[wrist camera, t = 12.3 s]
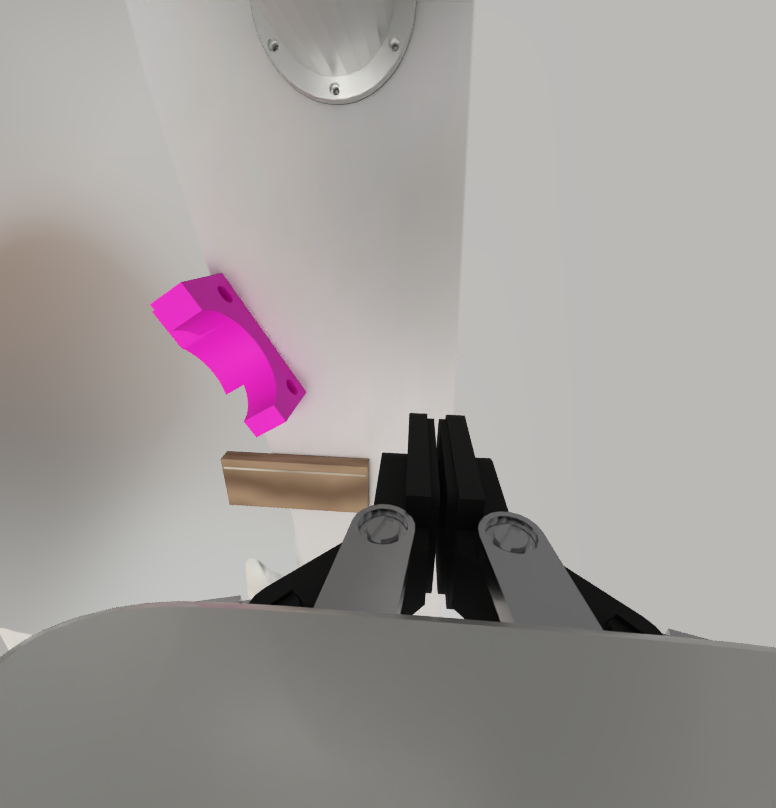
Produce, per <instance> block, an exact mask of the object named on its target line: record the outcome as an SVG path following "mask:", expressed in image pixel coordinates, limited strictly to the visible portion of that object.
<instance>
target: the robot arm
mask: <svg viewBox="0 0 776 808" xmlns="http://www.w3.org/2000/svg"><path fill="white" fill-rule="evenodd" d="M250 3H251V9H252V15H253V20H254V23H255V26H256V29H257V33H258V36H259V39H260V41H261V43H262V45H263V47H264V49H265V51H266V53H267V56H268V57H269V59H270V60H271V62H272V63H273V64H274V66H275V67H276V69H277V70H278V72H279V73H280V74H281V75H282V76H283V77H284V78H285V80H286V81H287V82H288V83H290V84H291V85H292V86H293V87H294V88H295V89H297V90H298V91H299V92H300V93H302V94H304V95H306V96H308V97H309V98H311V99H313V100H316V101H320V102H323V103H326V104H346V103H352V102H356V101H358V100H360V99H363V98H365V97H367V96H369V95H370V94H372V93H373V92H375V91H376V90H377V89H379V88H380V87H381V86H382V85H383V84H384V83H385V82H386V81H387V80H388V79H389V77H390V76H391V75H392V74H393V72H394V71H395V69H396V68H397V66H398V65H399V63H400V61H401V60H402V58H403V55H404V53H405V50H406V48H407V46H408V43H409V40H410V36H411V33H412V29H413V25H414V19H415V9H416V0H250ZM394 45H397V46H398V50H397V51H393V50H392V47H393V46H394ZM275 46H279V47H278V50H277V51H276V52H274V48H275ZM335 89H339V94H338V95H334V91H335ZM435 554H436V572H437V590H438V594H445V596H446V607H447V609H454V610H456V611H457V612H458V613H459V614H460V615H461V616H462V617H463V618H464V619H455V618H442V617H429V616H416V615H413V614H414V613H415V612H416V611H418V610H419V609H420V608H421V607H422V606H424V605H425V594H426V593H431V592H432V583H433V572H434V562H435ZM0 808H776V648H774V647H765V646H757V645H750V644H743V643H733V642H724V641H713V640H708V639H705V638H701V637H697V636H694V635H689V634H686V633H682V632H679V631H675V630H671V629H668V630H667V632H666V634H662V633H661V632H660V631H659V630H658V629H657V628H656V627H655V626H654V625H653V624H652V623H650V622H649V621H648V620H646V619H645V618H644V617H643V616H641V615H639V614H638V613H636V612H635V611H633V610H632V609H630V608H629V607H627V606H625V605H624V604H622V603H621V602H619V601H617V600H616V599H614V598H613V597H611V596H610V595H608V594H607V593H605V592H604V591H602V590H600V589H599V588H597V587H596V586H594V585H593V584H591V583H590V582H588V581H586V580H585V579H583V578H582V577H580V576H579V575H577V574H575V573H574V572H572V571H571V570H569V569H568V568H566V567H565V566H563V564H562V562H561V561H560V559H559V558H558V556H557V554H556V553H555V551H554V550H553V548H552V546H551V544H550V543H549V541H548V540H547V538H546V536H545V535H544V533H543V532H542V530H541V529H540V528H539V527H538V526H537V525H536V524H535V523H533V522H532V521H531V520H529V519H528V518H525V517H523V516H521V515H519V514H515V513H511V512H508V508H507V506H506V502H505V499H504V496H503V493H502V490H501V487H500V484H499V481H498V477H497V474H496V471H495V468H494V465H493V462H492V460H491V459H490V458H475V455H474V451H473V447H472V443H471V439H470V435H469V431H468V427H467V423H466V419H465V416H460V415H446V418H445V419H439V424H438V436H437V448H436V438H435V426H434V419H427V414H418V413H410V415H409V436H408V454H399V453H382V457H381V464H380V470H379V476H378V482H377V489H376V495H375V501H374V505H372V506H369V507H367V508H364V509H362V510H361V511H360V512H358V513H357V514H356V516H355V517H354V518H353V520H352V522H351V524H350V527H349V529H348V531H347V533H346V536H345V538H344V540H343V542H342V543H341V544H339V545H337V546H336V547H334V548H332V549H330V550H329V551H327V552H325V553H324V554H322V555H320V556H318V557H317V558H315V559H313V560H312V561H310V562H308V563H306V564H305V565H303V566H301V567H300V568H298V569H296V570H295V571H293V572H291V573H289V574H288V575H286V576H284V577H283V578H281V579H279V580H277V581H276V582H274V583H272V584H271V585H269V586H267V587H266V588H264V589H263V590H261V591H260V592H259V593H257V594H256V595H255V596H254V597H253V598H252V600H246V601H242V600H241V596H234V597H226V598H218V599H211V600H203V601H196V602H188V601H175V602H156V603H144V604H137V605H131V606H124V607H116V608H112V609H108V610H104V611H100V612H96V613H92V614H88V615H84V616H80V617H77V618H74V619H71V620H68V621H65V622H63V623H60V624H57V625H55V626H52V627H50V628H48V629H45V630H43V631H41V632H39V633H37V634H35V635H33V636H31V637H29V638H28V639H26V640H24V641H22V642H21V643H19V644H18V645H17V646H15V647H14V648H12V649H11V650H9V651H8V652H6V653H5V654H4V655H3V656H1V657H0Z"/></svg>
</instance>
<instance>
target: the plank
mask: <svg viewBox="0 0 776 808" xmlns="http://www.w3.org/2000/svg"><path fill="white" fill-rule="evenodd" d="M221 463H222V468H223V473H224V478H225V483H226V488H227V493H228V497H229V503H230V505H246V506H261V507H277V508H292V509H308V510H324V511H340V512H356V513H358V512H360V511H361V510H362V509H364V508H367V507H369V459H360V458H342V457H324V456H306V455H287V454H267V453H251V452H233V451H227V452H226V453H225V455H224V456H223V457H222V458H221Z"/></svg>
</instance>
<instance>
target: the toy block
mask: <svg viewBox="0 0 776 808" xmlns="http://www.w3.org/2000/svg"><path fill="white" fill-rule="evenodd" d="M151 306H152V307H153V309H154V311H153V313H154V314H155V316H156V317H157V318H158V319H159V321H160V322H161V323H162V325H163V326H164V327H165V328H166V329H167V331H168V332H169V333H170V334H171V336H172V337H173V338H174V339H175V341H176V342H177V343H178V344H179V346H180V347H181V348H183V349H185V350H187V351H189V352H190V353H192V354H193V355H195V356H197V357H198V358H199V359H200V360H202V361H203V362H204V363H205V364H206V365H207V366H208V367H209V368H210V369H211V371H212V372H213V373H214V374H215V375H216V377H217V378H218V380H219V381H220V383H221V385H222V387H223V389H224V391H225V393H226V394H228V393H230V392H232V391H233V390H235V389H237V388H239V387H240V386H242V385H244V386H245V389H246V393H247V397H248V412H247V416H246V418H245V420H244V422H245V423H246V424H247V426H248V427H249V428H250V430H251V431H252V432H253V433H254V434H255V436H256V437H258V436H260V435H261V434H263V433H265V432H267V431H269V430H271V429H273V428H275V427H277V426H279V425H281V424H282V423H284V422H286V421H287V419H288V418H289V417H290V415H291V414H292V412H293V411H294V409H295V408H296V406H297V405H298V403H299V402H300V401H301V399H302V398H303V396H304V395H305V393H306V391H305V390H304V388H303V387H302V385H301V384H300V383H299V381H298V380H297V378H296V377H295V376H294V374H293V373H292V371H291V370H290V369H289V367H288V366H287V364H286V363H285V361H284V360H283V359H282V357H281V356H280V354H279V353H278V352H277V350H276V349H275V347H274V346H273V345H272V343H271V342H270V340H269V339H268V337H267V336H266V335H265V333H264V332H263V330H262V329H261V328H260V326H259V325H258V323H257V322H256V321H255V319H254V318H253V316H252V315H251V313H250V312H249V311H248V309H247V308H246V306H245V305H244V304H243V302H242V301H241V299H240V298H239V297H238V295H237V294H236V292H235V291H234V290H233V288H232V287H231V285H230V284H229V282H228V281H227V280H226V278H225V277H224V275H223V274H222V273H220V274H216V275H211V276H207V277H202V278H198V279H193V280H189V281H184V282H181V283H180V284H178V285H177V286H175V287H174V288H172V289H171V290H170V291H168V292H167V293H166V294H164V295H163V296H161V297H160V298H159V299H157V300H156V301H154V302H153V303H152V304H151Z"/></svg>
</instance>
